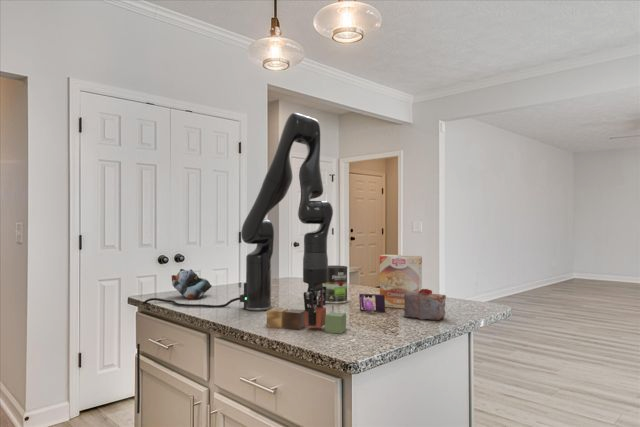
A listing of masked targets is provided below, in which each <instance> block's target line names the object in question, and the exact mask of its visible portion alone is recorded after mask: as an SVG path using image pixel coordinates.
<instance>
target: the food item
mask: <svg viewBox="0 0 640 427" xmlns="http://www.w3.org/2000/svg"><path fill="white" fill-rule="evenodd" d="M404 300H405V309H404V318H411V319H419V320H422V321H423V320H431V321H441V320H442V319H444V318H445V317H446V308H445V307H446V300H447V296H446V294H441V293H433V290H431V289H429V288H422V290H420V291H419V292H412V291H411V292H410V291H408V292H407V293H405V295H404Z"/></svg>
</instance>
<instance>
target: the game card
mask: <svg viewBox="0 0 640 427" xmlns="http://www.w3.org/2000/svg"><path fill="white" fill-rule="evenodd" d="M373 297H374V303H375V306H374V304H373V301H371V300H370V299H372V298H373ZM358 298H359V311H362V312H371V313H372V314H374V313H375V312H378V313H386V307H385V295H380V293H378V294H377V293H359V295H358ZM368 298H369V299H368ZM364 299H365V300H364Z"/></svg>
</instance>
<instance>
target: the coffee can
mask: <svg viewBox="0 0 640 427" xmlns="http://www.w3.org/2000/svg"><path fill="white" fill-rule="evenodd" d="M323 286H326V301H325V304H331V305H335V304H345V303H348V266H347V265H328V282H327V283H323Z"/></svg>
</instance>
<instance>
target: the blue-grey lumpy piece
mask: <svg viewBox="0 0 640 427" xmlns="http://www.w3.org/2000/svg"><path fill="white" fill-rule="evenodd" d="M170 276H171V286H172V287H173V288H174V289H176V291H177V292H178V293H179V294H180V296H183V297H185V298H186V300H198V299H199V298H201V297H202V296H203V295H204V294H205V293H206V292H208V291H209V290H210V289H211V288H212V287H213V285H212V284H211V283H210V282H209V280H208V279H207V278H203V277H202V278H201V277H199V275H198V274H197V273H196V272H195V271H193V269H188V270H186V269H183V268H180V269H179V271H178V273H177V274H175V275H174V274H173V275H170Z"/></svg>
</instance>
